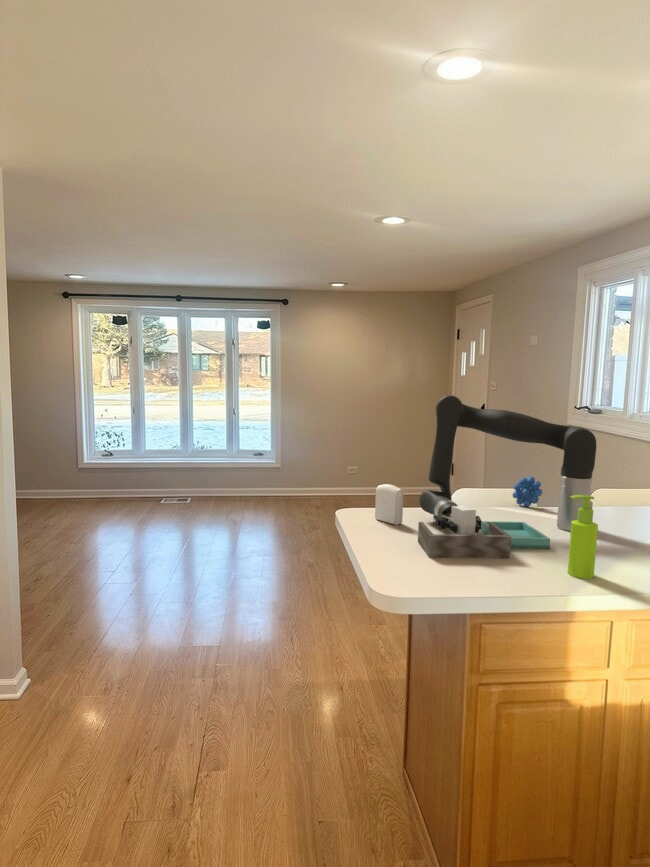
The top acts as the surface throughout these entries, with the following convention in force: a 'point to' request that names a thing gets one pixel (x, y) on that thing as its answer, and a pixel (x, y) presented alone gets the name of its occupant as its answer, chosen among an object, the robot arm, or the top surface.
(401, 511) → the photo printer
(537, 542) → the tray
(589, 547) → the soap dispenser
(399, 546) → the top surface
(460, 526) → the skincare box
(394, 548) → the top surface
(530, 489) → the blue knobbly flower shape
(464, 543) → the bay
